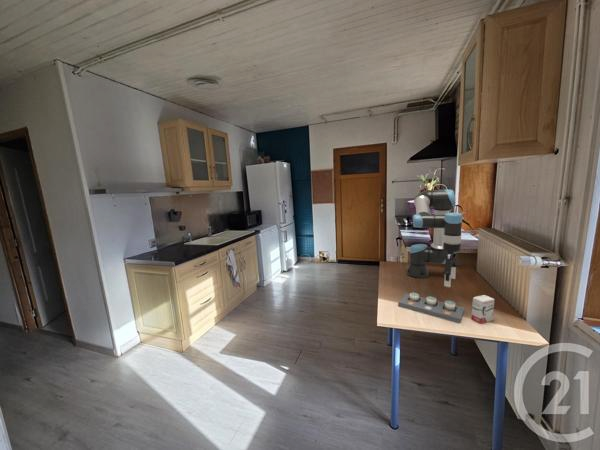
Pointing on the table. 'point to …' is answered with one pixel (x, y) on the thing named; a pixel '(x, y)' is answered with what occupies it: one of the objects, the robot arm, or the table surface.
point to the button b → (431, 301)
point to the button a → (414, 296)
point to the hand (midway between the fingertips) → (449, 282)
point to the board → (432, 308)
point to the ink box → (482, 309)
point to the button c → (450, 305)
